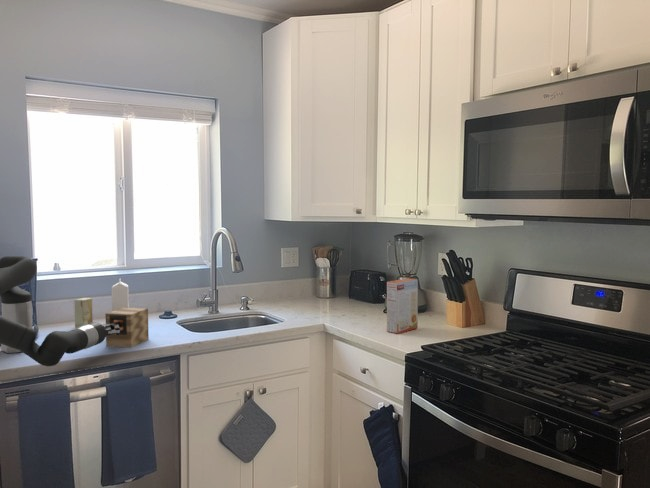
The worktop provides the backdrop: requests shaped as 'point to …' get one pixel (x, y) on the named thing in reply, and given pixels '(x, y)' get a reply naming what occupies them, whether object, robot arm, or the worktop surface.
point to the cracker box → (402, 305)
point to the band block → (129, 327)
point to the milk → (120, 296)
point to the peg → (120, 323)
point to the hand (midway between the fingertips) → (118, 324)
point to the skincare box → (83, 312)
